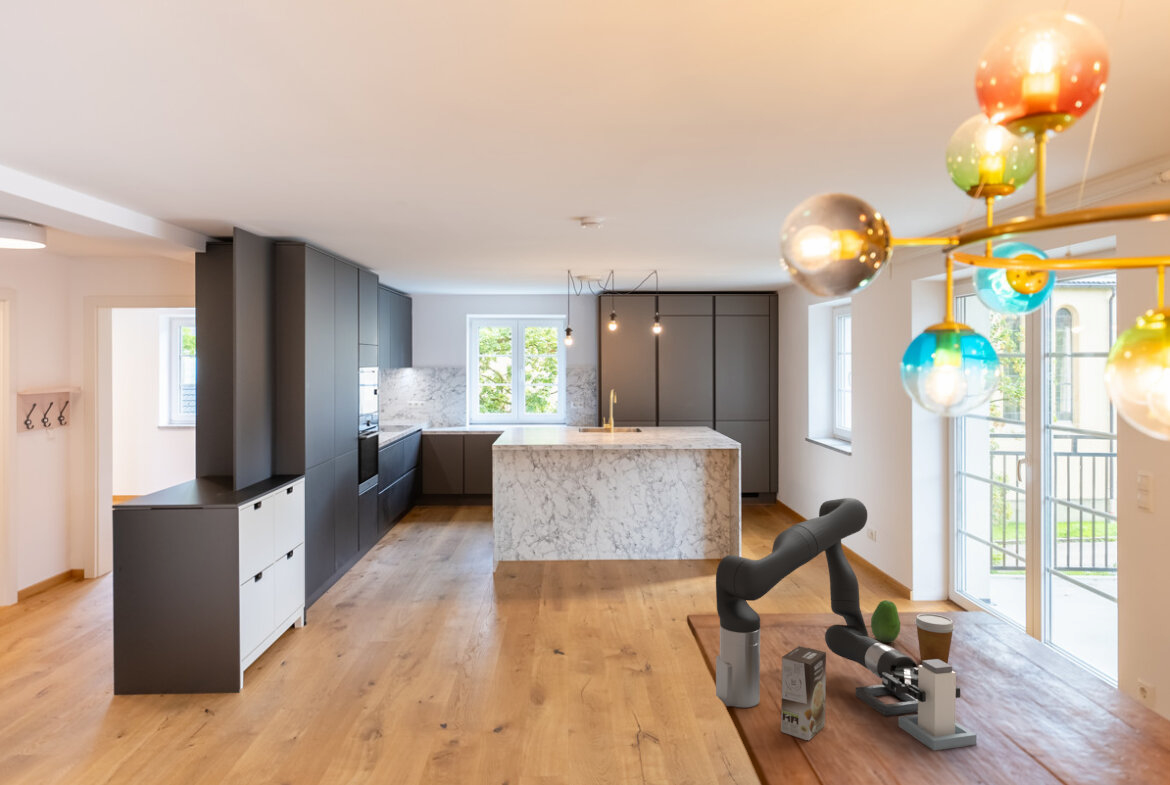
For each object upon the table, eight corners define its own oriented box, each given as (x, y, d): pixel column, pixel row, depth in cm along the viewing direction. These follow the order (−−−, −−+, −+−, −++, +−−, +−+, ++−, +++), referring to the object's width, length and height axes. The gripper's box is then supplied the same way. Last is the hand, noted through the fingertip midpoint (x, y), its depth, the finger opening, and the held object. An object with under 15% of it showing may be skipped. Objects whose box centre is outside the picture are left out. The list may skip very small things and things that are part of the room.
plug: (934, 742, 144) (935, 669, 144) (917, 730, 149) (918, 659, 149) (955, 739, 145) (955, 667, 145) (937, 728, 150) (938, 657, 150)
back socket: (884, 716, 155) (884, 707, 155) (855, 695, 165) (855, 687, 165) (924, 711, 158) (924, 702, 158) (893, 691, 168) (893, 683, 168)
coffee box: (809, 742, 144) (810, 664, 144) (780, 732, 148) (780, 657, 148) (825, 725, 151) (826, 651, 151) (797, 716, 155) (798, 644, 155)
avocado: (905, 646, 197) (906, 603, 197) (880, 647, 196) (880, 605, 196) (889, 635, 205) (890, 595, 205) (864, 637, 204) (865, 596, 204)
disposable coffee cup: (962, 668, 182) (963, 622, 182) (935, 673, 178) (936, 627, 178) (932, 654, 191) (932, 611, 191) (906, 659, 187) (906, 615, 187)
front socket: (933, 750, 141) (933, 740, 141) (898, 726, 151) (898, 716, 151) (976, 744, 143) (976, 734, 143) (939, 720, 153) (939, 711, 153)
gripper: (863, 651, 159) (913, 681, 144) (916, 646, 163) (970, 674, 147) (863, 684, 159) (912, 717, 144) (916, 678, 163) (970, 709, 147)
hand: (941, 695), depth 145 cm, fingers open, 8 cm apart
